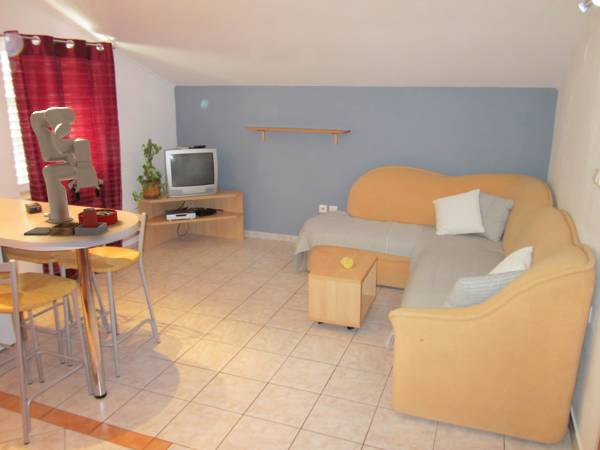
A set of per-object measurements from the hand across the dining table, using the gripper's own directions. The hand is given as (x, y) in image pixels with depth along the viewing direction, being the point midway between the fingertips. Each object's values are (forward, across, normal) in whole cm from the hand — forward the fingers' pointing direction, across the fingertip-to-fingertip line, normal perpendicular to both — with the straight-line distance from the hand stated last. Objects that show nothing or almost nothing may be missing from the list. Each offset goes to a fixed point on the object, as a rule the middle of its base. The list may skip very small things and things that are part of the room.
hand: (88, 198), depth 257 cm
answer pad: (+17, -18, +19) cm, 32 cm away
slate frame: (+18, 0, +1) cm, 18 cm away
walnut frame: (+17, -9, +10) cm, 22 cm away
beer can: (+18, 0, +1) cm, 18 cm away
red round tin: (+18, +10, +18) cm, 27 cm away
